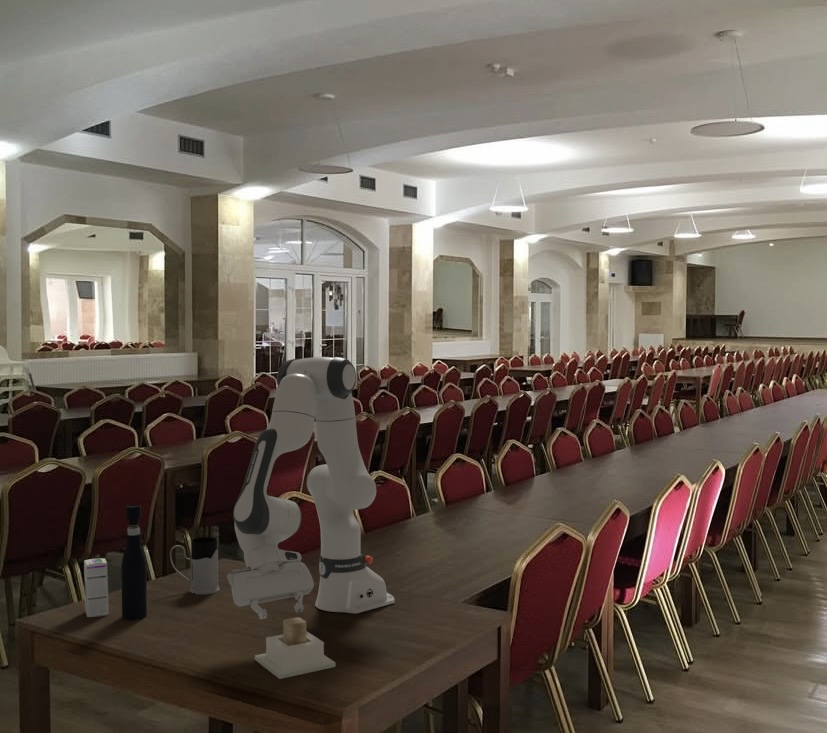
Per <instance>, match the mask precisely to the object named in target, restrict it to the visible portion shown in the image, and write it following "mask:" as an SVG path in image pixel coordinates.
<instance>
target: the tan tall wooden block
mask: <svg viewBox="0 0 827 733" xmlns="http://www.w3.org/2000/svg"><path fill="white" fill-rule="evenodd" d="M282 622H283V623H282V624H283V626H282V627H283V628H282V630H283V632H282V634H283V643H285V644H286V645H287V646H291V645H296V644H301V643H306V631H307V621H306V620H305V619H303V618H301V617H300V616H299V617H292V618H287V619H283V620H282Z"/></svg>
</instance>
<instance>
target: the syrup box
mask: <svg viewBox="0 0 827 733" xmlns="http://www.w3.org/2000/svg"><path fill="white" fill-rule="evenodd" d="M83 574H84V603H85V604H84V611H85V614H86V617H87V618H95V617H102V616H103V617H104V616H108V615H109V610H110V609H109V583H108V582H109V581H108V578H109V577H108V562H107V560H106V558H103V557H100V558H99V557H98V558H89V559H85V560H84V561H83Z"/></svg>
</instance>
